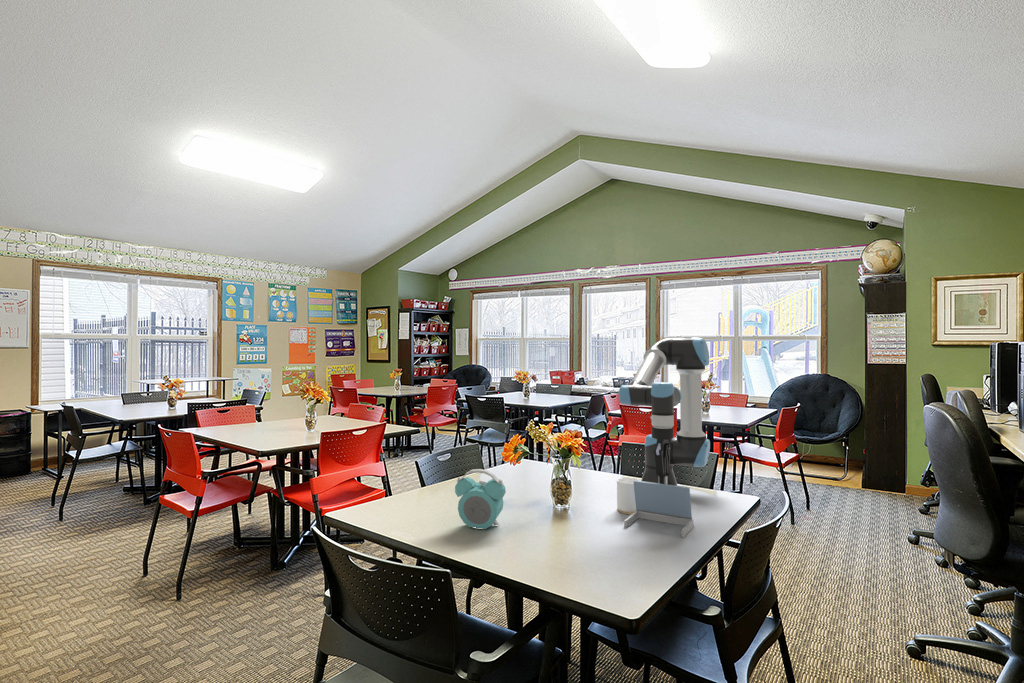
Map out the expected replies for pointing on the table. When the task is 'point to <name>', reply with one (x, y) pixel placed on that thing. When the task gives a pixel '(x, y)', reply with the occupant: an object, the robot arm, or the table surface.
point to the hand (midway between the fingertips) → (663, 494)
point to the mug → (626, 495)
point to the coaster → (625, 512)
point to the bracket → (661, 520)
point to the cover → (663, 499)
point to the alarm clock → (480, 500)
